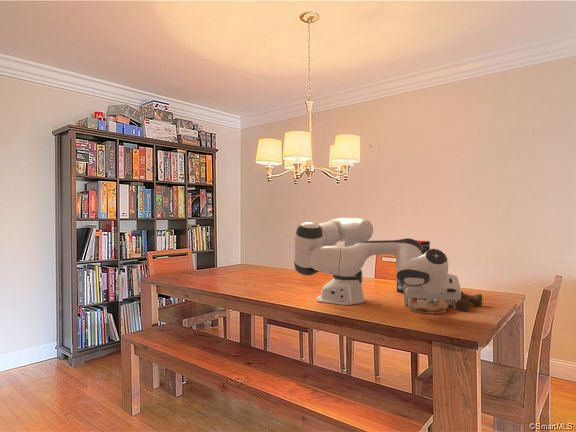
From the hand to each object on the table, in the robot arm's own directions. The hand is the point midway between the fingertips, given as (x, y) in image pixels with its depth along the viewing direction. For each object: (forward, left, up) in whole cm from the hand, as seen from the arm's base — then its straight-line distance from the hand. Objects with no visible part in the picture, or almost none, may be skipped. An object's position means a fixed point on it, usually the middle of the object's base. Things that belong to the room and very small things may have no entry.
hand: (431, 301), depth 150 cm
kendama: (+16, +16, -5) cm, 23 cm away
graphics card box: (-6, +36, -5) cm, 37 cm away
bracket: (0, +15, -5) cm, 16 cm away
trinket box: (-1, +6, -5) cm, 8 cm away
